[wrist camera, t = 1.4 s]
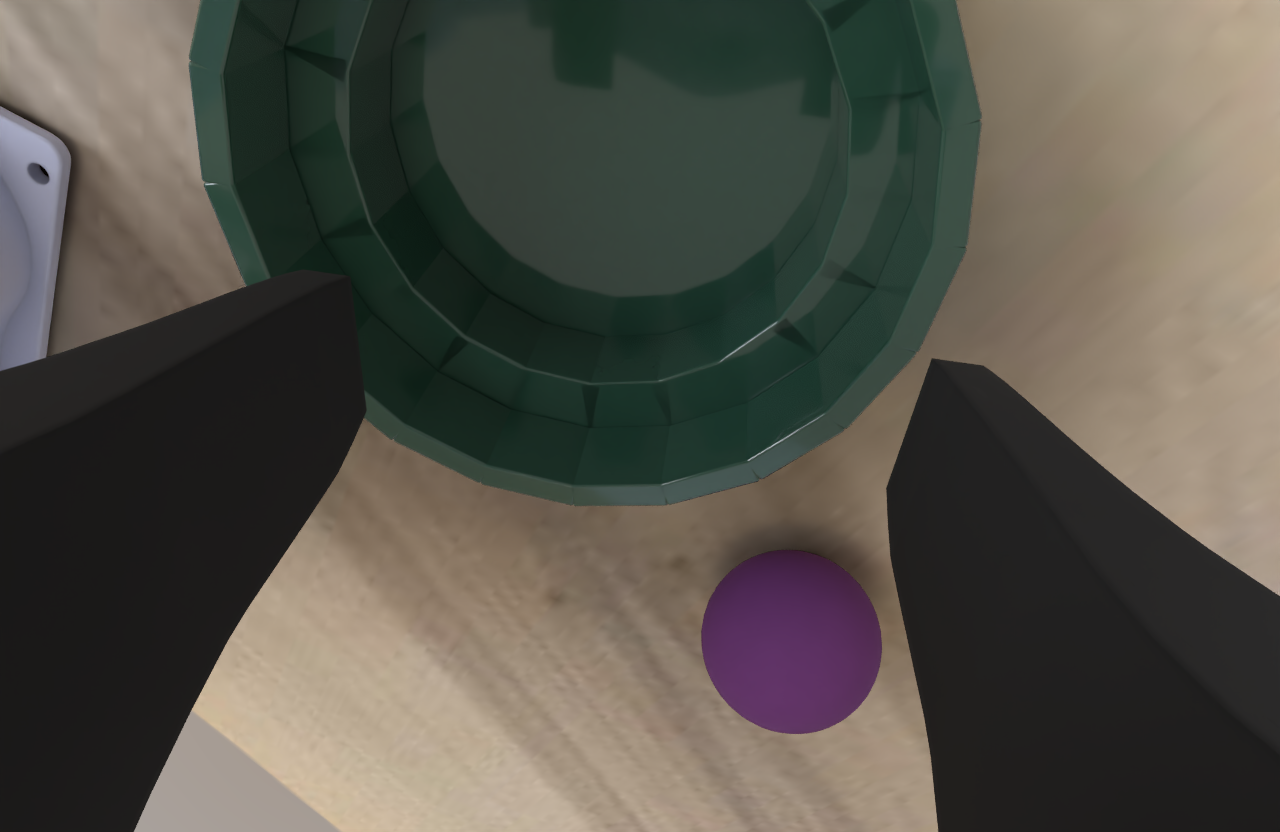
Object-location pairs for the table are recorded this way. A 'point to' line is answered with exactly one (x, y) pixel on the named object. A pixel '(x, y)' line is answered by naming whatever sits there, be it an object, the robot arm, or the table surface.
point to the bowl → (602, 217)
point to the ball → (791, 641)
